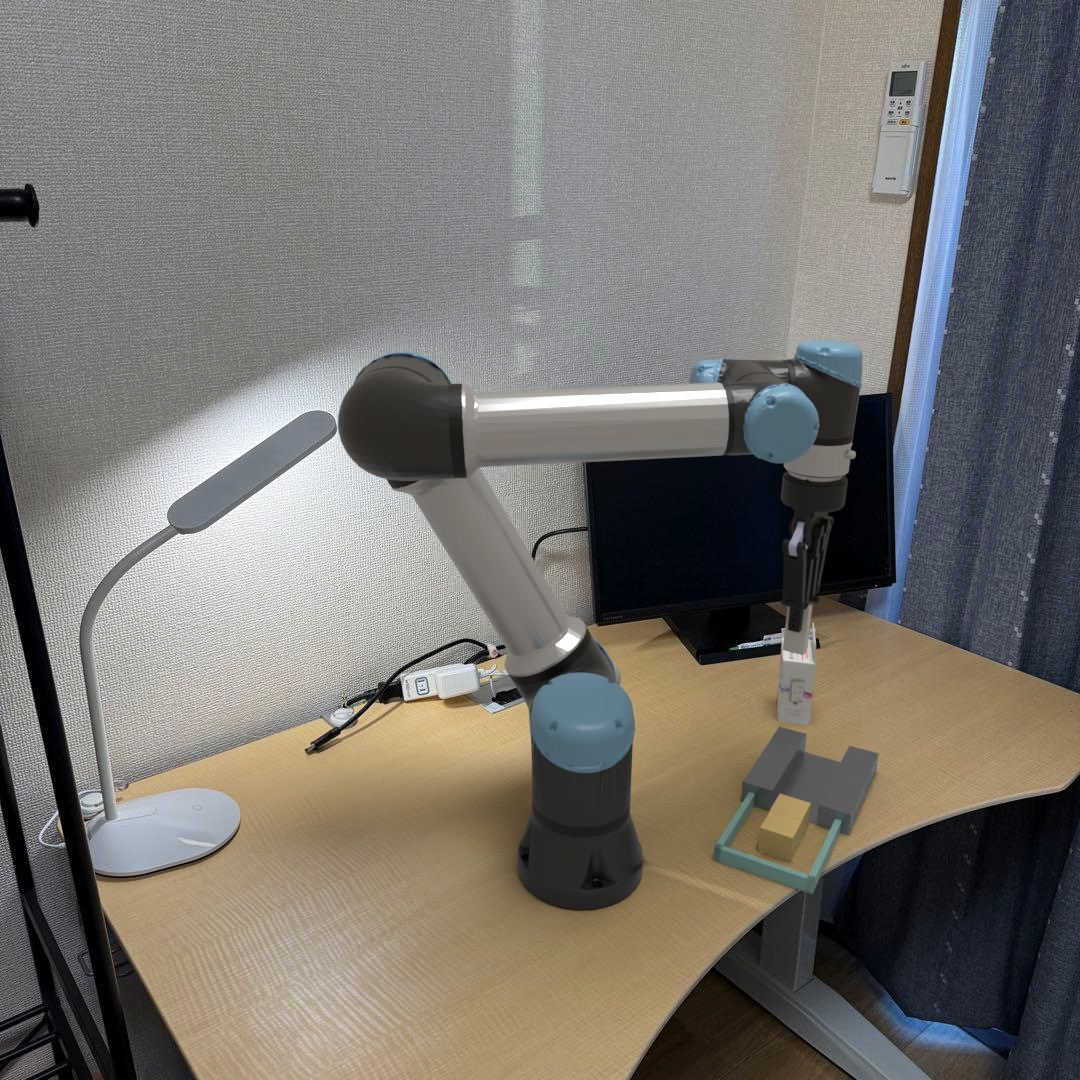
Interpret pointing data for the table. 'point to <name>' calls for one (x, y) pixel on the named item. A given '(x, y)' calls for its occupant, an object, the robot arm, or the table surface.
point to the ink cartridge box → (796, 684)
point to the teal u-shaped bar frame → (766, 867)
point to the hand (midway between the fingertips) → (794, 650)
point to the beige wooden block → (793, 809)
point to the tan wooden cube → (780, 835)
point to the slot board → (811, 779)
